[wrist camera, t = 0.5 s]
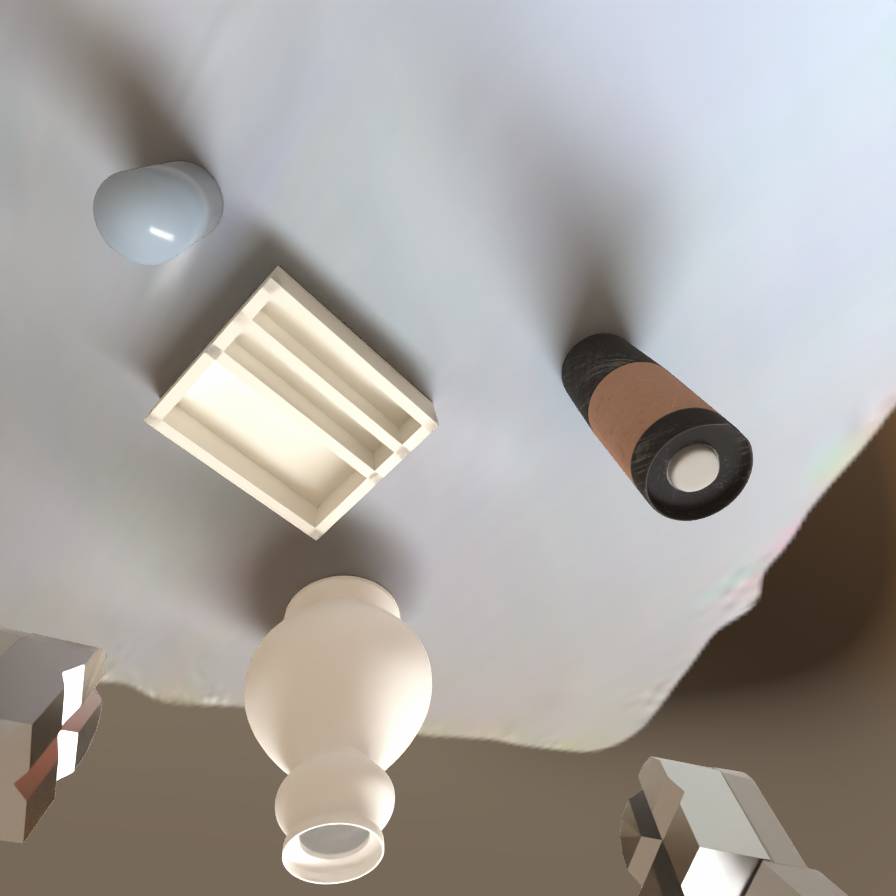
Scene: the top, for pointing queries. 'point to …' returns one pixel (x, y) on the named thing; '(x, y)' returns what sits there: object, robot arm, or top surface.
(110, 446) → the top surface
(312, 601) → the decorative vase
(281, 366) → the compartment tray
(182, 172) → the grey cylinder
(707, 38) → the top surface
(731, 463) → the travel mug
